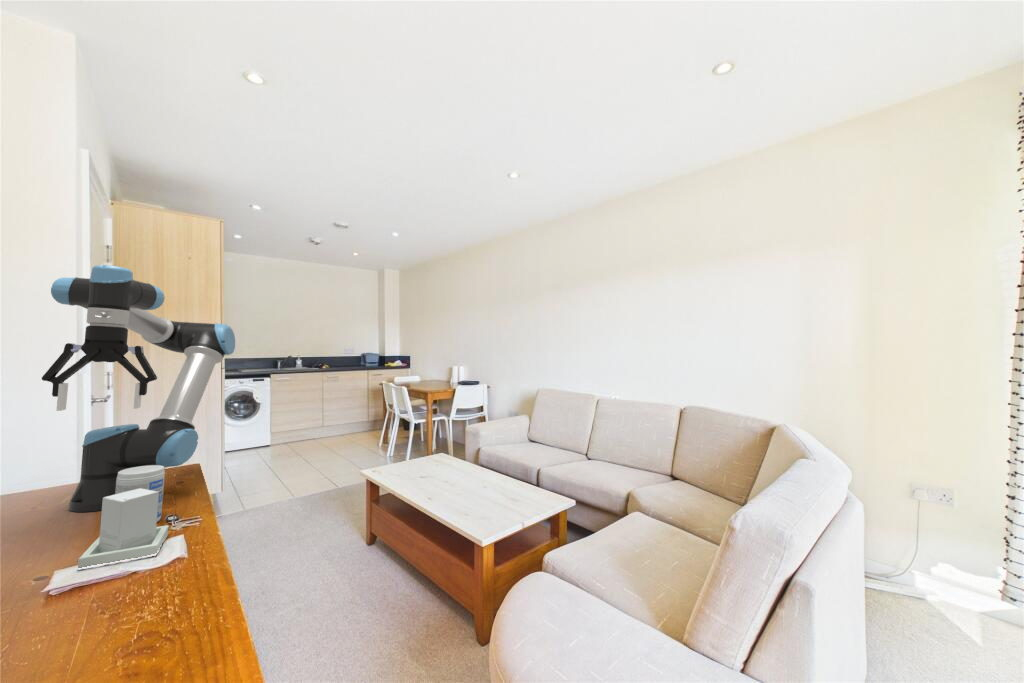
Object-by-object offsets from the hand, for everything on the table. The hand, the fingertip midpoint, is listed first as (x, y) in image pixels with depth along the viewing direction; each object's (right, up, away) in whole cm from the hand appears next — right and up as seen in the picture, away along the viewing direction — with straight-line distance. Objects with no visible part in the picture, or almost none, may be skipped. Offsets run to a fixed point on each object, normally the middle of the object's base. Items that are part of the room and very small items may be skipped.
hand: (100, 409), depth 98 cm
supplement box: (+15, -32, -8) cm, 36 cm away
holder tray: (+15, -32, -8) cm, 36 cm away
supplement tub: (+4, -32, +6) cm, 33 cm away
